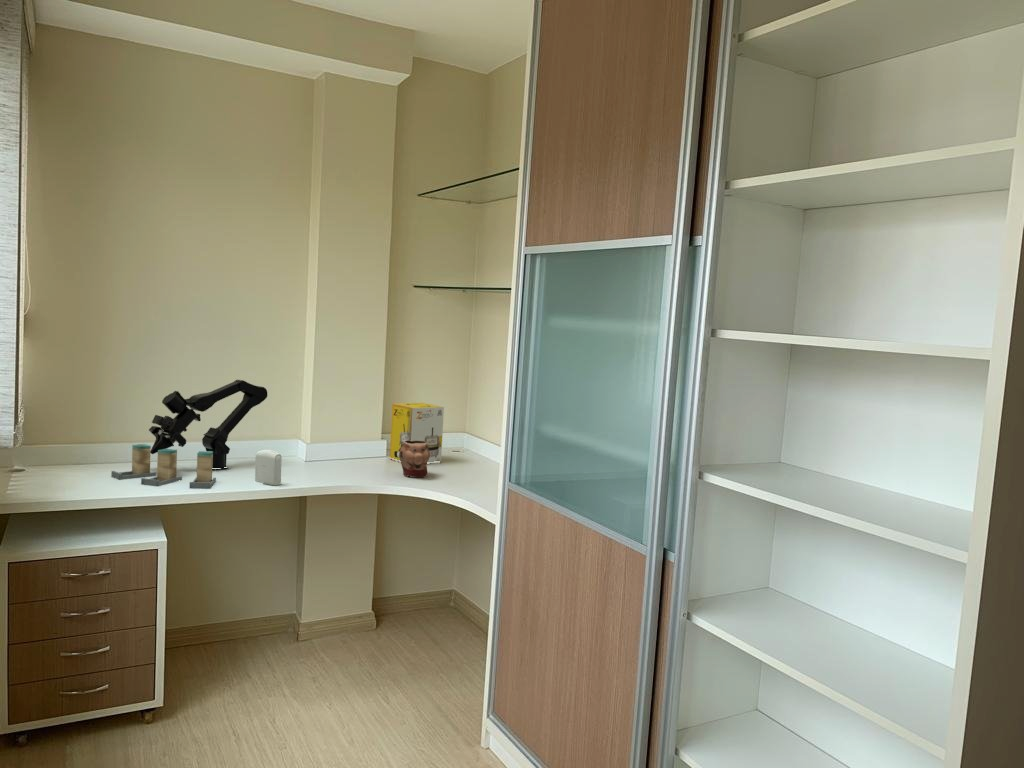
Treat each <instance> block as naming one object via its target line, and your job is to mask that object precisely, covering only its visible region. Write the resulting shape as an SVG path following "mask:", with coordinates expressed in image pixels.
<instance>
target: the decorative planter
mask: <svg viewBox="0 0 1024 768" xmlns="http://www.w3.org/2000/svg"><path fill="white" fill-rule="evenodd" d="M429 458H430V452H429V449H428V446H427V443H426V442H424V441H404V442H403V444H402V448H401V449H400V452H399V459H400V461H401V463H400V464H401V465H400V466H401V469H402V471H403V473H402V474H403V476H405V477H408V476H410V477H409V478H424V477H423V476H426V475H428V464H427V462H428V460H429ZM426 477H427V476H426Z"/></svg>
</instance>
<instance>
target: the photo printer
mask: <svg viewBox="0 0 1024 768" xmlns="http://www.w3.org/2000/svg"><path fill="white" fill-rule="evenodd" d="M282 461H283V460H282V455H281V454H280V453H279V452H277V451H275V450H273V449H262V450H259V451H257V453H256V454H255V465H254V466H255V467H254V468H255V469H254V470H255V471H254V472H255V473H254V480H255V482H256V483H262V484H265V485H270V486H280V484H282Z"/></svg>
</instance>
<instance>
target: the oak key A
mask: <svg viewBox="0 0 1024 768" xmlns="http://www.w3.org/2000/svg"><path fill="white" fill-rule="evenodd" d="M151 446H152V445H149V444H147V443H146V444H145V443H142V444H140V443H139V444H132V451H131V453H132V454H131V456H132V457H131V459H132V460H131V471H132V475H134V474H143V473H151V453H150V452H151V449H152V447H151Z"/></svg>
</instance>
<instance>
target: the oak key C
mask: <svg viewBox="0 0 1024 768" xmlns="http://www.w3.org/2000/svg"><path fill="white" fill-rule="evenodd" d="M196 455H197V456H196V457H197V459H196V477H197V482H211V481H212V480H213V470H212V463H213V451H206V450H200V451H198V452H197V453H196Z"/></svg>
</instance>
